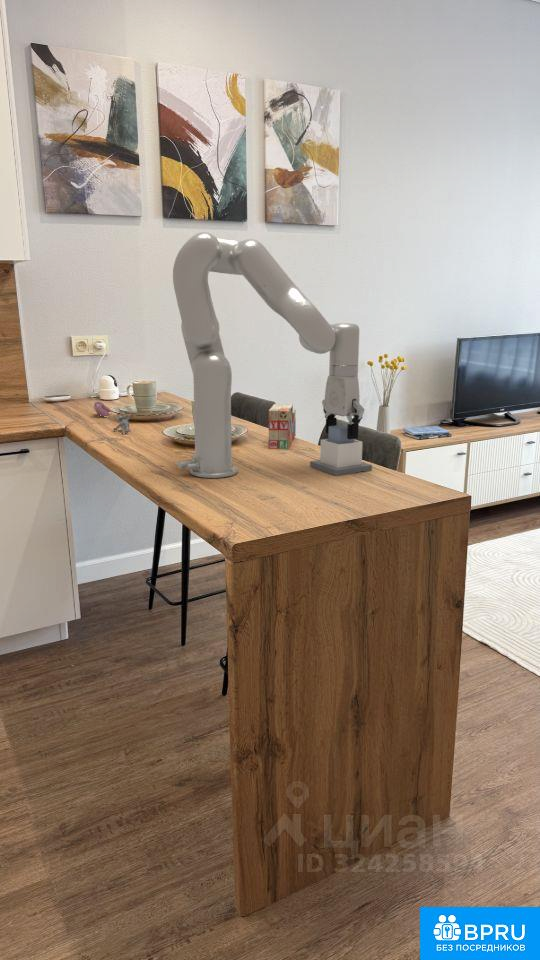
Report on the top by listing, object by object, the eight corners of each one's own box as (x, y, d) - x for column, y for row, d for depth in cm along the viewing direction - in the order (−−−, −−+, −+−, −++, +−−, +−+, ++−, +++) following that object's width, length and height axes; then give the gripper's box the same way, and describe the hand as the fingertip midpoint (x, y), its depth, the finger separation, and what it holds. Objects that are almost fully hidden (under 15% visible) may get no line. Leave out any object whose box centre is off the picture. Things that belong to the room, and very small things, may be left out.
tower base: (335, 475, 182) (336, 447, 180) (309, 466, 192) (310, 439, 190) (371, 470, 188) (373, 442, 186) (345, 461, 198) (345, 434, 196)
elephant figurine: (108, 436, 234) (106, 422, 241) (121, 446, 238) (118, 432, 245) (131, 417, 232) (128, 404, 239) (143, 428, 236) (139, 415, 243)
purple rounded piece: (102, 418, 276) (93, 402, 274) (112, 412, 276) (103, 397, 274) (99, 422, 267) (90, 406, 265) (110, 416, 267) (100, 400, 265)
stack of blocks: (277, 436, 235) (277, 399, 232) (295, 436, 234) (296, 399, 231) (268, 449, 214) (268, 409, 211) (288, 450, 213) (289, 410, 210)
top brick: (339, 447, 185) (339, 429, 184) (328, 444, 189) (328, 426, 188) (354, 445, 188) (354, 427, 186) (343, 442, 192) (343, 424, 190)
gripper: (313, 369, 189) (311, 431, 193) (352, 375, 174) (349, 442, 179) (335, 368, 192) (333, 429, 197) (375, 373, 178) (372, 439, 182)
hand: (341, 435), depth 188 cm, fingers open, 9 cm apart
